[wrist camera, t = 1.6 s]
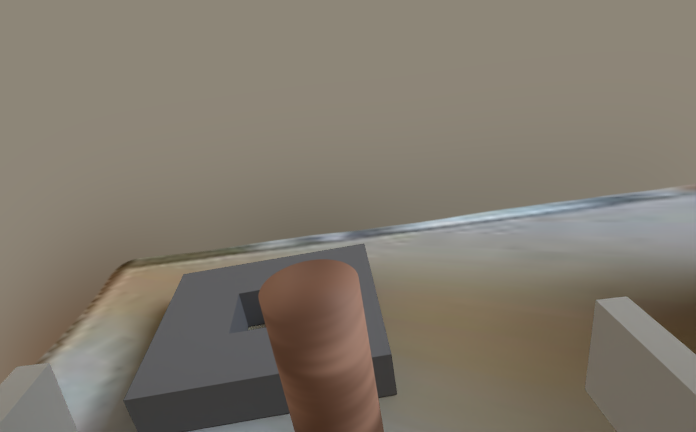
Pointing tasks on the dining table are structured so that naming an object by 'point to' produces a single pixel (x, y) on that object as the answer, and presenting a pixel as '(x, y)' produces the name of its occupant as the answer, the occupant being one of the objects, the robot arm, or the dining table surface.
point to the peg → (322, 347)
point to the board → (232, 349)
